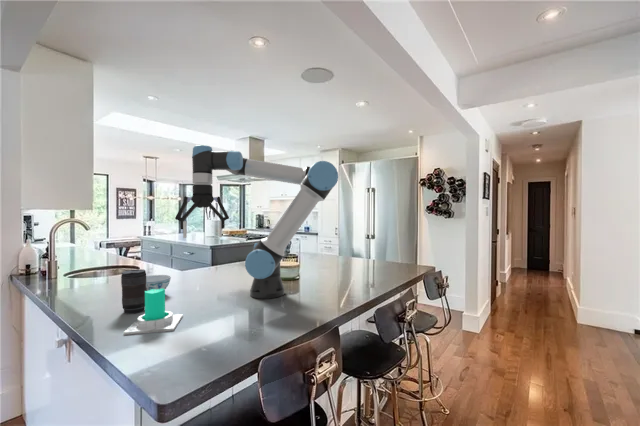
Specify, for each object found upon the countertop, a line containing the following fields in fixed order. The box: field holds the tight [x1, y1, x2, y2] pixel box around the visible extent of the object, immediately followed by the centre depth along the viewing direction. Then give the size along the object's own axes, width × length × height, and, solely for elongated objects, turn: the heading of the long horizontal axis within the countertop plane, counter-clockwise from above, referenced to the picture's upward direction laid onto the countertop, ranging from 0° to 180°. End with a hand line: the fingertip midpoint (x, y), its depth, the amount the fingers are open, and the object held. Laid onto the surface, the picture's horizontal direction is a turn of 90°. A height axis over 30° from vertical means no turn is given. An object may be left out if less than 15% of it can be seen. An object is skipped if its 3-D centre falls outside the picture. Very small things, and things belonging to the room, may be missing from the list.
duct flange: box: [122, 310, 184, 336], centre depth 103 cm, size 14×14×3 cm
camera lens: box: [120, 268, 147, 315], centre depth 118 cm, size 8×8×15 cm
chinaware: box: [146, 274, 172, 291], centre depth 140 cm, size 15×15×8 cm
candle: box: [144, 288, 166, 320], centre depth 103 cm, size 6×6×12 cm
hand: (203, 237), depth 127 cm, fingers open, 13 cm apart
